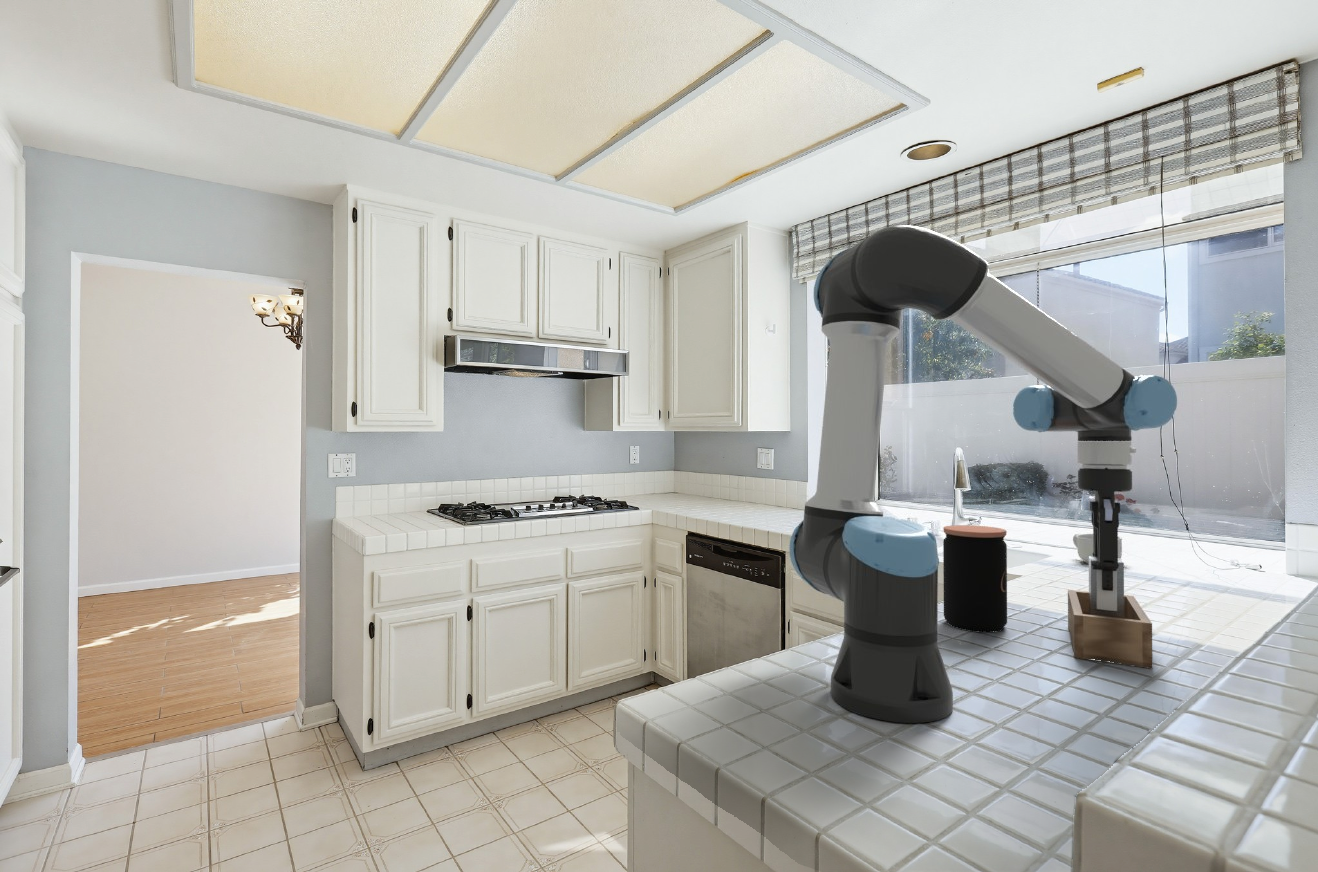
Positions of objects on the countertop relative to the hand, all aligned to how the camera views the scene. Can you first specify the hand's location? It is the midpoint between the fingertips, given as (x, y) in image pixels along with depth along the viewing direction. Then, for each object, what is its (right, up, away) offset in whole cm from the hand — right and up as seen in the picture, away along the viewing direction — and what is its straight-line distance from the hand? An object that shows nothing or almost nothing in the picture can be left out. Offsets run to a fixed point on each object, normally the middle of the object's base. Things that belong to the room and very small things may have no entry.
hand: (1105, 605), depth 109 cm
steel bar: (0, -2, 0) cm, 2 cm away
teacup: (+50, -8, +77) cm, 92 cm away
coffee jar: (-16, -7, +12) cm, 21 cm away
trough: (0, -7, 0) cm, 7 cm away
